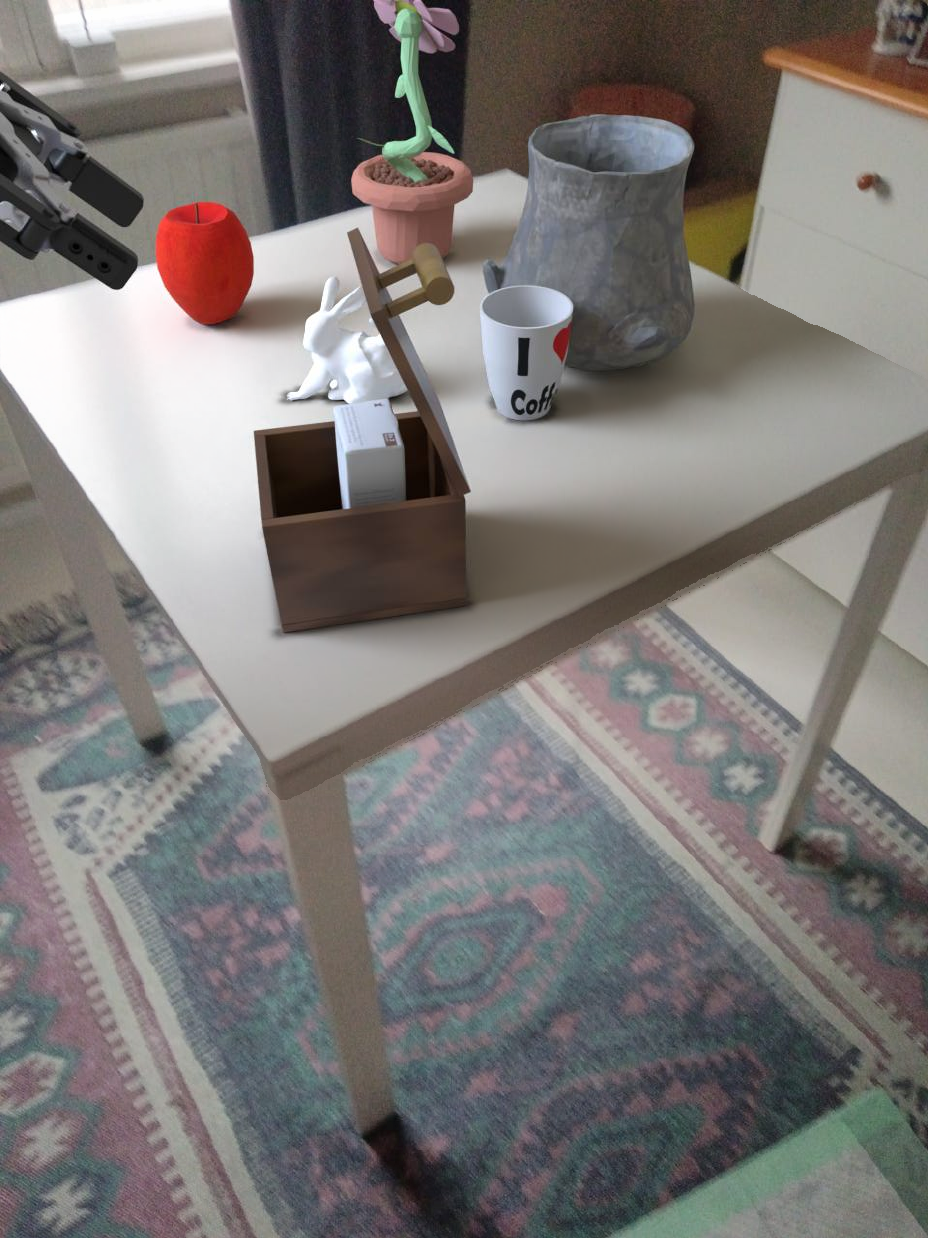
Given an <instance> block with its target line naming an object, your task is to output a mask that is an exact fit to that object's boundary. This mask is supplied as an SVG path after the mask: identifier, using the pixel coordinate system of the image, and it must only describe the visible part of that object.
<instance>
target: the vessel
mask: <svg viewBox="0 0 928 1238" xmlns="http://www.w3.org/2000/svg"><path fill="white" fill-rule="evenodd" d="M694 151H695V142H694V140H693V138H692V136H691V134H690V133H689V132H688V131H687V130H686V129H685V128H683V127H682V126H680V125H678V124H676V123H673V122H670V121H668V120H665V119H660V118H652V117H646V116H642V115H631V114H630V115H628V114H624V115H623V114H602V113H600V114H591V115H589V116H586V115H582V116H578V117H575V118H569V119H565V120H559V121H553V122H548V123H545V124H541V125H540V126H538V127H536V128H535V129H534V130H533V132H532V133H531V135H530V136H529V138H528V142H527V152H528V153H527V154H528V180H527V190H526V195H525V200H524V204H523V208H522V214H521V216H520V218H519V222H518V225H517V227H516V231H515V234H514V236H513V239H512V241H511V245H510V248H509V250H508V252H507V255H506V258H505V259H504V261H503V262H502V264H501V265H499V266H498V265H497V264H496V262H494V260H491V259H487V260H484V262H483V265H482V274H483V279H484V283H485V288H486V290H487V293H488V294H490V293H492V292H494V291H496V290H499V289H502V288H506V287H511V286H523V285H529V286H540V287H546V288H550V289H553V290H556V291H558V292H561V293H562V294H564V295H566V296H567V297H568V298H569V299H570V300H571V302H572V304H573V314H572V321H571V329H570V337H569V344H568V352H567V356H566V360H565V364H564V367H572V368H576V369H579V370H584V371H614V370H615V371H616V370H623V369H633V368H635V367H640V366H643V365H646V364H649V363H652V362H655V361H657V360H659V359H661V358H663V357H666V356H667V355H668V354H671V352H673V351H674V350H675V349H677V348H678V347H679V346H680V345H682V344H683V342H684V341H686V339H687V337H688V336H689V334H690V332H691V330H692V328H693V323H694V320H695V306H696V305H695V292H694V286H693V278H692V272H691V271H692V270H691V266H690V261H689V254H688V250H687V243H686V236H685V229H684V227H685V226H684V219H685V218H684V197H685V196H684V194H685V185H686V179H687V173H688V168H689V165H690V163H691V159H692V157H693V154H694Z"/></svg>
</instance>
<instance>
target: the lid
mask: <svg viewBox="0 0 928 1238" xmlns="http://www.w3.org/2000/svg"><path fill="white" fill-rule="evenodd" d="M346 234H347V238H348V242H349V245H350V249H351V251H352V252H351V253H352V255H353V258H354V263H355V266H356V270H357V274H358V277H359V280H360V283H361V286H362V287H363V291H364V294H365V298H366V305H367V308H368V311H369V315H370V318H372V319H373V321H374V323H375V325H376V327H377V329H376V330H377V332H378V333H379V334H380V335H381V337H382V339H383V341H384V343H385V345H386V347H387V350H388V352H389V354H390V356H391V358H392V360H393V362H394V364H395V366H396V368H397V370H398V372H399V374H400V376H401V378H402V380H403V382H404V384H405V386H406V388H407V392H408V394H409V396H410V398H411V400H412V402H413V404H414V407H415V409H416V411H418V412H419V414H420V416H421V418H422V420H423V422H424V424H425V426H426V428H427V430H428V432H429V435H430V437H431V439H432V441H433V443H434V445H435V447H436V449H437V451H438V453H439V455H440V457H441V459H442V461H443V463H444V465H445V467H446V469H447V471H448V473H449V475H450V477H451V479H452V481H453V483H454V485H455V487H456V489H457V491H458V493H459V495H460V496H463V495H464V496H465V495H467V494H469V493H471V492H472V491H471V488H470V485H469V482H468V479H467V476H466V474H465V470H464V467H463V465H462V462H461V459H460V456H459V453H458V450H457V447H456V445H455V441H454V439H453V436H452V433H451V430H450V427H449V424H448V421H447V418H446V416H445V413H444V410H443V406H442V405H441V401H440V399H439V397H438V395H437V393H436V391H435V389H434V386H433V384H432V382H431V380H430V378H429V375H428V373H427V371H426V369H425V367H424V365H423V363H422V361H421V358H420V356H419V354H418V352H417V350H416V348H415V345H414V344H413V341H412V339H411V338H410V337H411V336H410V335H409V332H408V330H407V329H406V327H405V325H404V322H403V320H402V318H401V316H400V315H401V314H404V313H405V312H408V311H410V310H413V309H414V308H416V307H418V306H421V305H423V304H425V303H427V302H429V303H430V304H432V305H434V306H443V305H446V304H448V303H449V302H450V301H451V300H452V299H453V298H454V294H455V285H454V283H453V280H452V278H451V275H450V274H449V271H448V269H447V267H446V264H445V262H444V258H442V257H441V255H440V253H439V250H438V249H437V247H436V246H435V245H433V244H430V243H423V244H420V245H418V246H417V247H416V248H415V249H414V251H413V254H412V259H410V260H408V261H406V262H404V263H402V264H397V265H396V266H393V267H392V268H389V269H387V270H385V271H383V272H381V273H380V271H379V268H378V266H377V265H376V262H375V261H374V259H373V256H372V254H371V252H370V250H369V248H368V245H367V244H366V242H365V239H364V237H363V235H362V233H361V231H360V229H359V227H356V228H353V229H351V230H349V231H347V232H346ZM415 274H416V275H417V278H418V280H419V283H420V285H421V287H419V288H416V289H414V290H412V291H410V292H408V293H406V294H403V295H401V296H400V297H398V298H395V299H394V300H393V299H392V297H391V294H390V292H389V291H388V287H390V286H392V285H394V284H396V283H398V282H400V281H402V280H404V279H407V278H409V277H411V276H413V275H415Z"/></svg>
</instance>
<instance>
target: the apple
mask: <svg viewBox="0 0 928 1238" xmlns="http://www.w3.org/2000/svg"><path fill="white" fill-rule="evenodd" d="M158 223H159V224H158V226H157V227H158V228H157V231H156V238H155V260H156V268H157V272H158V273H159V276H160V280H161V281H162V284H163V286H164V288H165V290H166V291H167V292H168V294H169V295H170V297H171V298H172V299H173V301H174V302H175V303H176V304H177V305H178V307H179V308H180V309H181V310H183V312H185V313H186V315H187V316H189V318H190V319H192V320H193V321H195V322H196V323H199V324H203V325H215V324H219V323H223V322H225V321H228V320H230V319H232V318H233V317H234V316H236V315H237V313H238V312H239V311H240V309H241V308H242V307H243V305H244V302H245V301H246V298H247V295H248V294H249V291H250V289H251V287H252V284H253V279H254V275H255V257H254V252H253V248H252V242H251V240H250V237H249V235H248V233H247V230H246V229H245V227H244V226H243V224H242V222H241V221H240V219H239V217H238V216H237V215H236V213H235V211H233V210H231V209H229V208H228V207H226V205H223V204H221V203H218V202H213V201H197V202H193V203H189V204H185V205H180V206H176V207H175V208H173V209H170V210H168V212H167V213H165V215H164V216H163V217H162V219H160V222H158Z"/></svg>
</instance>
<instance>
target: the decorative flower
mask: <svg viewBox="0 0 928 1238" xmlns="http://www.w3.org/2000/svg"><path fill="white" fill-rule="evenodd" d="M372 1H373V7H374V10H375V11H376V13H377V16H378V17H379V20H380V21H381V22H382V23H384V24H385V25H386V24H388V25H389V26H390V27H391V28H389V29H388V30H389V33H390V34H391V35H392V37H394V38H395V39H396V40H397V41H399V42H400V43H401V44H400V45H401V47H400V63H401V70H402V74H401V75H400V76H399V77H398V79H397V82H396V87H395V92H394V98H397V99H400V98H402V97H404V96H406V98H407V101H408V104H409V108H410V111H411V113H412V117H413V120H414V121H413V122H414V125H415V136H414V137H411V138H409V139H407V140H394V141H388V142H386V143H385V144H378V143H374V142H372V141H369V140H366V139H363V138H360V137H357V140H360V141H363V142H365V143H367V144H370V145H374V146H376V147H382V148H381V154H378V155H375V156H374V157H371V158H370V159H367V160H363V161H362V162H360V163H359V164H358V165H357V167H356V168H355V169H354V170H353V171H352V175H351V178H350V179H351V180H350V181H351V190H352V195H354V196H355V197H356V198H357V199H358V200H360V201H361V202H362V203H364V204H367V205H370V206H371V209H372V216H373V225H374V226H373V227H374V232H375V233H374V234H375V241H376V246H377V250H378V253H379V254H380V255H381V256H382V257H383V258H384V259H385V260H387V261H389V262H392V263H394V264H396V265H400V264H402V263H404V262H406V261H408V260H410V259H412V254H413V251H414V249H415V248H416V247H417V246H418V245H420V244H423V243H430V244H433V245H435V246H436V247H437V249H438V250H439V253H440V255H441V257H442V259H444V258H446V257H447V255H448V254H449V253H450V250H451V246H452V242H453V241H452V239H453V228H454V227H453V226H454V217H455V205H457V204H459V203H461V202H463V201H465V200H466V199H468V198H469V197H470V195H471V194H472V193H473V192H474V191H473V190H474V178H473V177H474V176H473V174H472V171H471V169H470V167H468V165H466V163H464V162H463V161H462V160H459V159H457V158H455V157H452V156H450V155H447V154H443V153H438V152H430V151H429V152H428V151H426V150H427V149H428V148H429V147H430V146H431V144H432V139H433V140H434V142H435V143H436V144H437V145H438V146H440V147H441V148H443V149H444V150H446V151H447V152H449V153H451V154H453V155H454V154H455V150H454V149H453V147H452V145H451V144H450V143H449V142H448V140H447V139H446V137H445V136H443V135H442V134H441V133H440V132H438V130H437V129H435V128H433V125H432V123H433V122H432V119H431V114H430V111H429V108H428V104H427V101H426V97H425V94H424V89H423V86H422V83H421V80H420V76H419V51H421V52H424V53H425V54H426V53H427V54H434V53H436V52H438V51H441V52H444V53H448V52H451V51H454V50H455V49H456V44H455V42H454V41H453V40H452V39H451V38H449V37H448V36H447V35H445V34H443V32H441V31H439V30H438V29H440V30H442V31H444V32H446V33H449V34H451V35H452V36H456V35H457V34H458V33H459V32H460V25H459V22H458V20H457V19H458V18H457V17H456V15H455V14H454V13H453V12H452V11H451V10H450V9H449V8H441V7H427V6H426V5H425V3H424V2H423V1H422V0H372ZM435 27H436V28H435ZM437 28H438V29H437Z"/></svg>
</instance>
